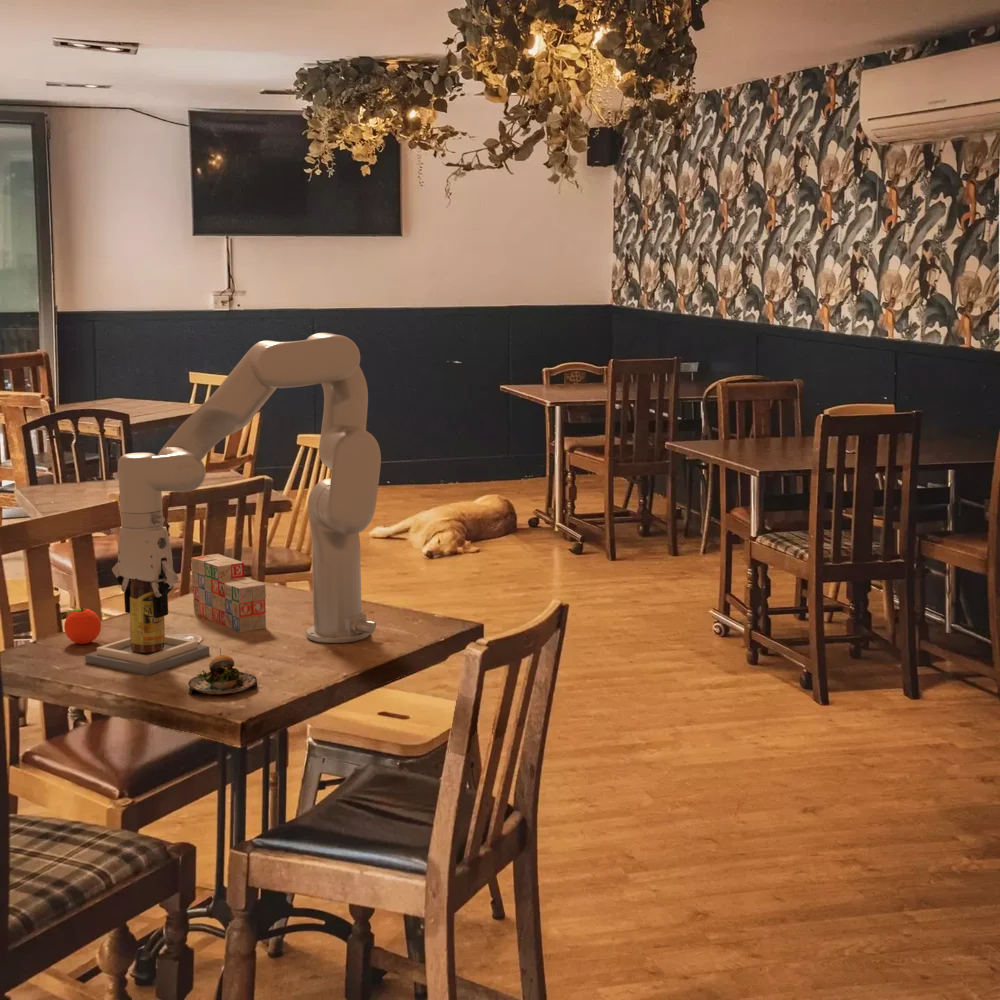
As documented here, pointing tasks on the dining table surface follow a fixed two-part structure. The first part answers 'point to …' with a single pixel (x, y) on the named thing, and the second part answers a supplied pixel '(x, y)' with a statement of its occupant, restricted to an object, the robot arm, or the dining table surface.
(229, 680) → the burger
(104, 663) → the slate coaster board
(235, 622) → the stack of blocks
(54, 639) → the dining table surface
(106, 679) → the dining table surface
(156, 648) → the sauce bottle
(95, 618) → the clementine
